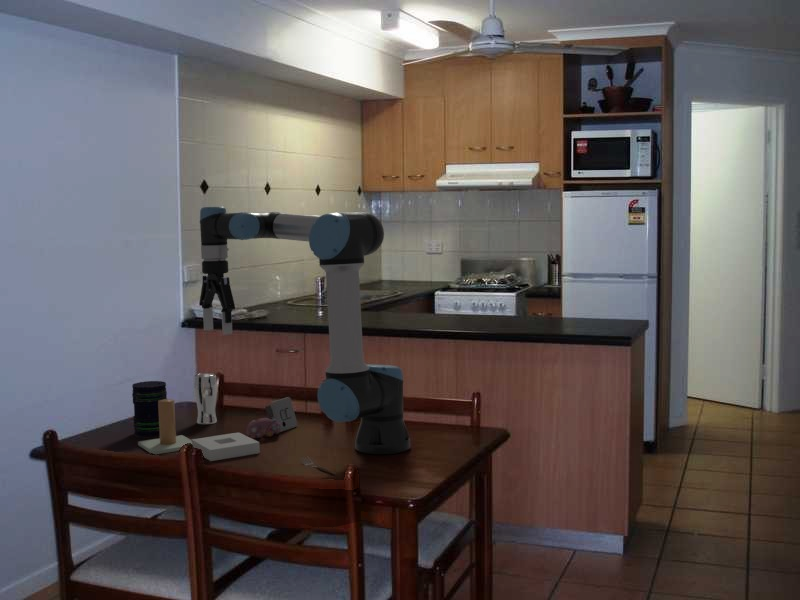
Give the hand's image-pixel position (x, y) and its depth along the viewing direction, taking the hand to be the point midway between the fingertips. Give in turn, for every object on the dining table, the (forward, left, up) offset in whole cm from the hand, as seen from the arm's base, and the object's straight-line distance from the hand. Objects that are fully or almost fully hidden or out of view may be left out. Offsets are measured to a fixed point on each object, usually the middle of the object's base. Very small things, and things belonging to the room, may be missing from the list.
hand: (217, 332), depth 275 cm
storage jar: (+12, +17, -30) cm, 37 cm away
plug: (-6, +18, -29) cm, 35 cm away
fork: (-51, -6, -31) cm, 60 cm away
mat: (-6, +18, -30) cm, 36 cm away
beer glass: (+16, -2, -30) cm, 34 cm away
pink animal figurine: (-12, -8, -31) cm, 34 cm away
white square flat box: (-21, +7, -30) cm, 37 cm away
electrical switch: (-6, -17, -30) cm, 35 cm away
